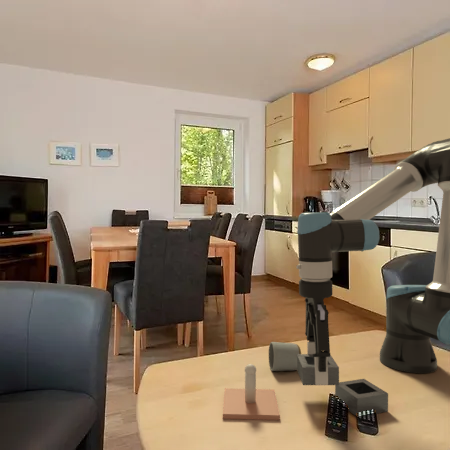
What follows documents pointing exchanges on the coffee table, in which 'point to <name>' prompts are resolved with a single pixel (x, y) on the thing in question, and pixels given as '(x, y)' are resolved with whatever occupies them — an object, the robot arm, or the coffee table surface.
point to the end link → (308, 370)
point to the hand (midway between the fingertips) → (317, 376)
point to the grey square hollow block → (362, 396)
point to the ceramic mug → (283, 356)
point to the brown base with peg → (250, 400)
